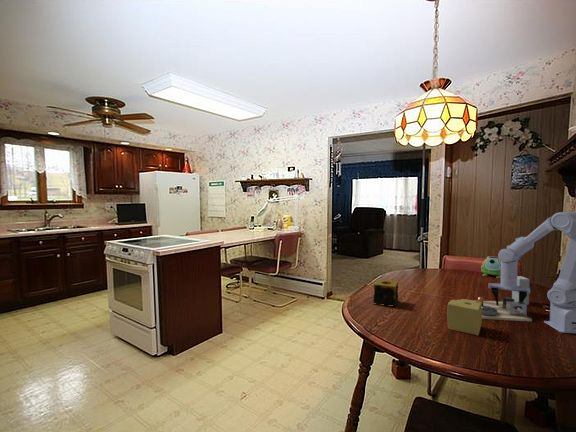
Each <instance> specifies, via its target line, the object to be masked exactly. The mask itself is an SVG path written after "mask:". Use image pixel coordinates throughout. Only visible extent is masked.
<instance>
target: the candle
mask: <svg viewBox="0 0 576 432" xmlns="http://www.w3.org/2000/svg"><path fill="white" fill-rule="evenodd" d="M398 288H399V281H396V280H389V279H388V280H386V279H377V280H376V281H375V282H374V283H373V290H374V292H373V297H372V298H373V299H372V300H373V301H372V302H373V303H376V304H384V305H393V306H395V305H396V303H397V304H398V302H399V293H398V292H399V291H398V290H399V289H398ZM397 301H398V302H397ZM373 303H372V304H373ZM396 306H397V305H396ZM396 306H395V307H396Z"/></svg>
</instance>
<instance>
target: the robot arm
mask: <svg viewBox="0 0 576 432" xmlns="http://www.w3.org/2000/svg"><path fill="white" fill-rule="evenodd" d="M557 230H559V231H561V232H563V233H564V234H565V236H567V237H568V238H569V243H568V247H567V250H566V253H565V256H564V259H563V263H562V265H561V269H560V272H559V275H558V278H557V280H555V282H554V283H553V285H552V287H551V289H549V290H548V291H547V294H546V296H547V298H548V299H547V300H549V302H550V304H549V305H550V307H549V320H544V321H543V323H544V324H547V325H549V327H552V328H553V329H555V330H557V332H559V333H563V334H576V211H575V210H573V211H571V210H570V211H567V212H563V211H562V212H561V211H560V212H556V213H554V214H553V215H552V216H550V217H548V218H547V219H545V220H544V221H543V222H542V223H541V224H540V225H539V226H538V227H536V228H535V229H534V230H533V231H531V232H530V233H529V234H528V235H527V236H520V237H515V239H514V240H515V241H513V242H512V243H511V244H508V245H507V246H506V248H502V249H500V250H499V252H498V254H497V255H498V256H497V257H499V259H500V260H501V278H500V283H492V282H489V283H488V286H487V287H488V289H491V293H492V295H493V297H494V301H496V305H497V306H498V301H499V290H501V291H502V290H503V291H504V290H505V291H510V292H512V291H517V292H519V302H523V301H524V299H525V298H526V296H527V293H529V295H530V294H531V288H530V287H529V288H526V287H521V286H517V276H518V262H519V260H521V257H522V256H523V255H525V254H526V253H528V252H529V251H530V250H532V249H533V248H534V247H535V243H536V242H537V241H539V240H540V239H542V238H543V237H545V236H546V235H547V234H549V233H551V232H552V231H553V232H554V231H557Z"/></svg>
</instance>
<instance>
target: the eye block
mask: <svg viewBox="0 0 576 432" xmlns="http://www.w3.org/2000/svg"><path fill="white" fill-rule="evenodd" d="M515 306H517V307H519V308H521V309H522V310H524V313H520V312H519V311H517V310H515ZM527 308H528V305H527V304H525V303H523V302H515V301H514V302H511V301H506V312H507V313H508V314H509V315H523V316H528V315H527V314H528V313H527V310H528V309H527Z"/></svg>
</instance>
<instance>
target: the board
mask: <svg viewBox="0 0 576 432" xmlns="http://www.w3.org/2000/svg"><path fill="white" fill-rule="evenodd" d="M473 301H477V302H478V300H473ZM483 305H484V306H489V307H492V308H495V309H496V310H497V315H495V316H487V315H482V320H497V321H512V322H513V321H514V322H516V321H517V322H533V318H531V317H529V316H528V315H526V316H523V315H509V314H508V313H507V312H506V309H505V308H504V307H503V301H499V300H498V306H497V305H496V300H493V301H492V300H483ZM515 310H516V309H515Z"/></svg>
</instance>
